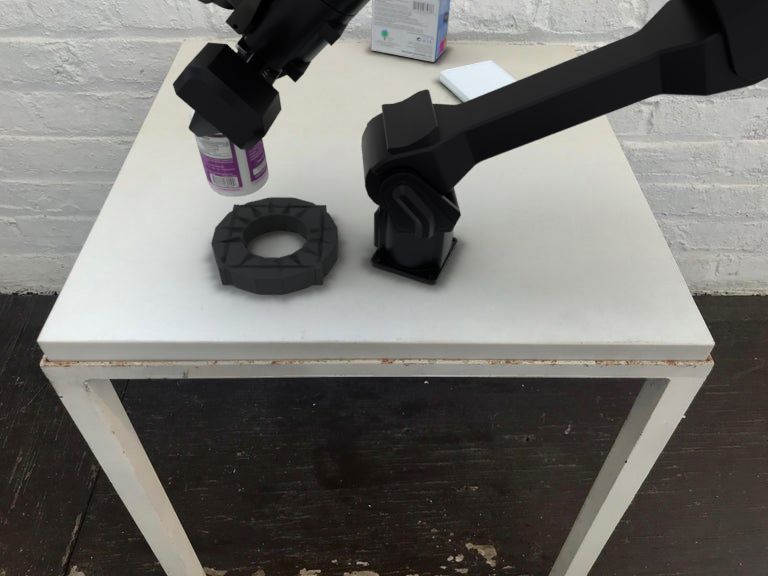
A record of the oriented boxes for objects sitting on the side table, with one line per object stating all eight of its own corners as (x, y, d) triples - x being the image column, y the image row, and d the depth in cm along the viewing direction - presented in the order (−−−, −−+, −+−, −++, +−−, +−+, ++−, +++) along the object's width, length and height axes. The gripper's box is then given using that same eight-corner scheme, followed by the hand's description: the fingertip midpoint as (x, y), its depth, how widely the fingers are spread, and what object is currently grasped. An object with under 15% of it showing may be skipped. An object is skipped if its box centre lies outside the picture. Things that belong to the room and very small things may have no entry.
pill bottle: (251, 157, 58) (231, 57, 51) (280, 183, 55) (263, 81, 48) (198, 178, 55) (169, 76, 49) (225, 207, 52) (198, 103, 46)
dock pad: (339, 213, 63) (339, 197, 61) (335, 294, 55) (334, 278, 53) (226, 212, 63) (223, 196, 61) (206, 294, 55) (201, 278, 53)
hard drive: (490, 70, 85) (545, 113, 77) (438, 82, 82) (489, 128, 75) (492, 59, 84) (547, 101, 76) (439, 70, 81) (491, 116, 73)
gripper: (278, -158, 44) (175, -7, 54) (161, -79, 31) (53, 100, 41) (388, -34, 49) (274, 85, 58) (324, 79, 36) (192, 208, 45)
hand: (208, 113), depth 51 cm, fingers closed on pill bottle, 5 cm apart
